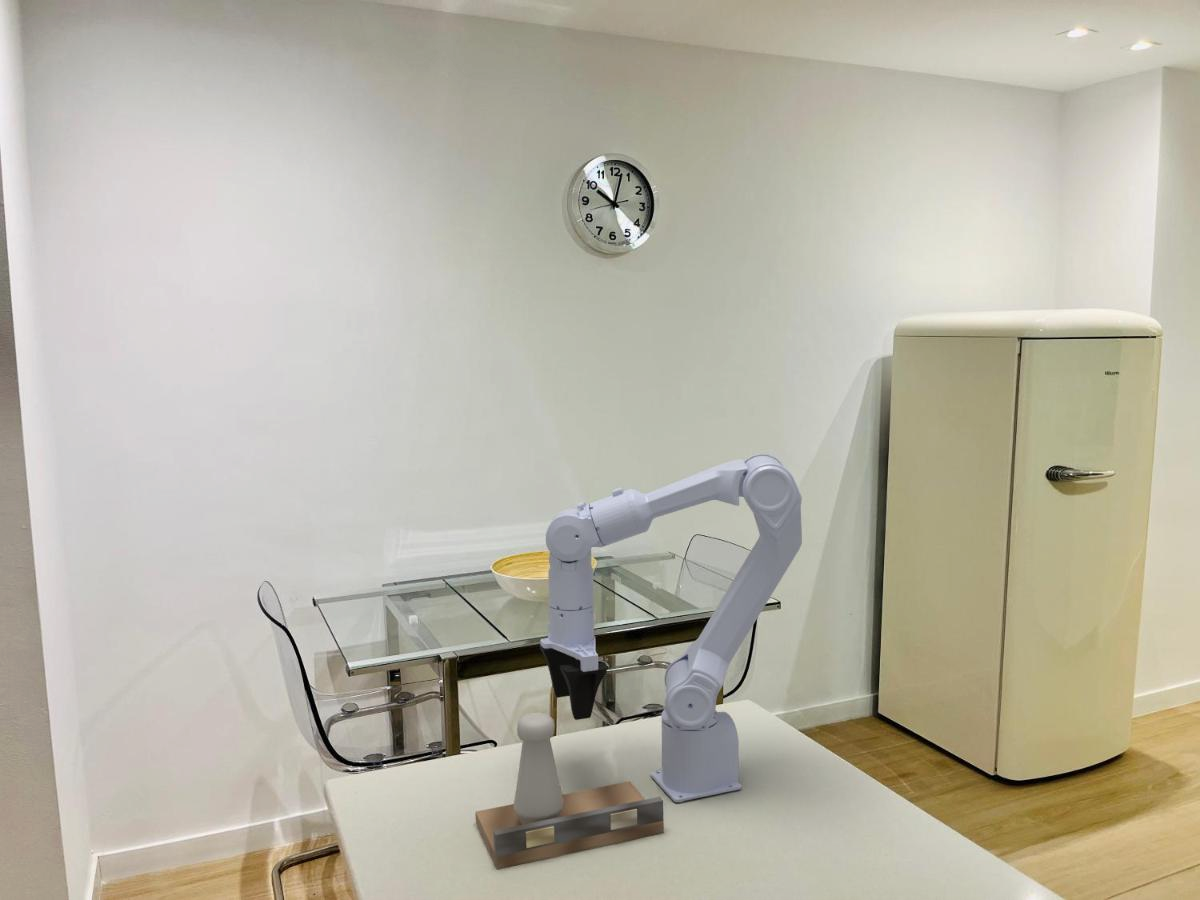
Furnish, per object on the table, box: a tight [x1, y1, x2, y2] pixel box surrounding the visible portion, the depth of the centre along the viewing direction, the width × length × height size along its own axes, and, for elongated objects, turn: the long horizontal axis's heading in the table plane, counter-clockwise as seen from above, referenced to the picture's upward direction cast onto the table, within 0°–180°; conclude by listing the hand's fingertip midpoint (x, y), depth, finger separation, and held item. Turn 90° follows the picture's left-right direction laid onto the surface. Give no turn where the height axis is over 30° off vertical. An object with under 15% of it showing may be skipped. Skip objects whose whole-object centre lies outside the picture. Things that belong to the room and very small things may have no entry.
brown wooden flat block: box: [474, 780, 665, 870], centre depth 110 cm, size 20×11×4 cm, turn 110°
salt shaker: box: [513, 712, 563, 825], centre depth 108 cm, size 6×6×13 cm
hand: (572, 706), depth 120 cm, fingers open, 7 cm apart
